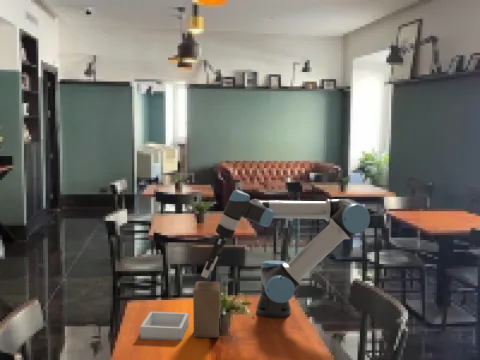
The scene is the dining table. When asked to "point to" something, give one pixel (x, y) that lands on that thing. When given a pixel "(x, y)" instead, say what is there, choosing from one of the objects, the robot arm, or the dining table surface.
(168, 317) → the tray
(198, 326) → the block
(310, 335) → the dining table surface
